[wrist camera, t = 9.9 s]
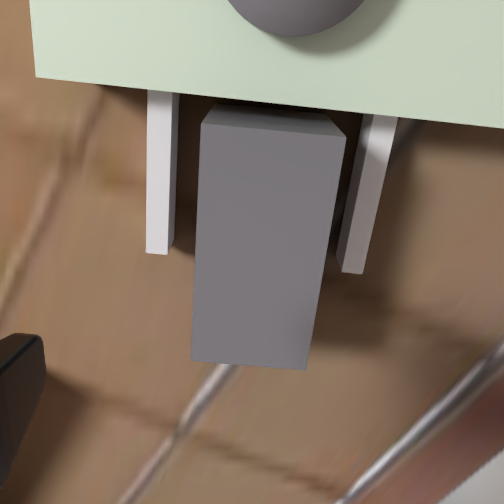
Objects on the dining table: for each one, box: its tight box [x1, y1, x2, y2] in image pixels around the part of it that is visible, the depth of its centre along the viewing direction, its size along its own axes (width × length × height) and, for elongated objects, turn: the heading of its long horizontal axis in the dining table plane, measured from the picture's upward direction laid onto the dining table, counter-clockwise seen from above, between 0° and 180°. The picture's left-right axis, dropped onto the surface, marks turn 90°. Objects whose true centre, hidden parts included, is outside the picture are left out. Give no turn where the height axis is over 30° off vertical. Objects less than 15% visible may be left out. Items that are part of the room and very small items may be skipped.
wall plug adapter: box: [29, 0, 504, 274], centre depth 14 cm, size 14×13×4 cm
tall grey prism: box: [191, 103, 347, 370], centre depth 16 cm, size 4×8×4 cm, turn 175°
